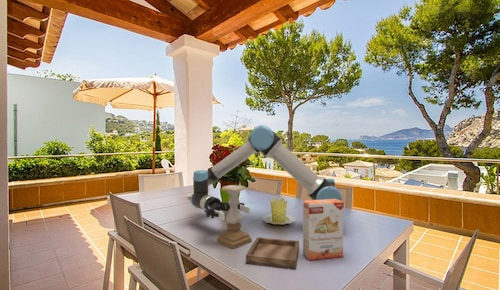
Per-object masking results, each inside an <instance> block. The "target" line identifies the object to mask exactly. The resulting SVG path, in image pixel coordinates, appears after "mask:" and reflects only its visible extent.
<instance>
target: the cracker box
mask: <svg viewBox="0 0 500 290" xmlns="http://www.w3.org/2000/svg"><path fill="white" fill-rule="evenodd" d="M302 210H303V211H302V254H303V256H304V257H305V258H306V259H307V260H308V261H315V260H324V259H334V258H336V259H337V258H342V257H344V215H345V214H344V212H345V211H344V210H345V209H344V201H340V200H337V199H325V200H312V199H310V200H309V199H308V200H303V201H302Z"/></svg>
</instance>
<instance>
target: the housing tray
mask: <svg viewBox="0 0 500 290" xmlns="http://www.w3.org/2000/svg"><path fill="white" fill-rule="evenodd" d="M299 251H300V241H299V240H291V239H282V238H281V239H280V238H268V237H259V236H258V237H256V238H255V240H254V241H253V243H252V245H251V246H250V248H249V250H248V251H247V253H246V254H245V264H247V265H255V266H262V265H263V266H264V267H271V266H272V267H274V268H279V267H280V268H282V269H288V268H290V269H289V270H296V267H297V262H298V257H299ZM280 268H279V269H280Z"/></svg>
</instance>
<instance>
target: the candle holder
mask: <svg viewBox="0 0 500 290" xmlns="http://www.w3.org/2000/svg"><path fill="white" fill-rule="evenodd" d="M221 190H222V191H223V192H224V191H225V192H227V194H228V196H229V199H228V200H227V201H228V203H229V205H230V209H229V210H227V211H228V212H226V214H225V221H226V222H227V224H226V228H227V230H226V231H224V232H222V233H220V234H219V235H218V237H216V242H217V243H218V244H220V245H223V246H225V247H227V248H229V249H232V250H235V249H237V248H240V247H242V246H245V245H247V244H249V243H252V241H253V240H252V237H251V236H250V234H249V233H247V232H245V231H243V230H242V225H241V222H242V220H243V214H242V213H241V211H240V210H239V209H238V204H239V203H241V202H240V201H241V200H239V194H240V193H241V192H242V191H244V190H246V186H245V185H240V184H229V185H224V186H222V187H221Z"/></svg>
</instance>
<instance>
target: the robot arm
mask: <svg viewBox="0 0 500 290" xmlns="http://www.w3.org/2000/svg"><path fill="white" fill-rule="evenodd" d="M282 141H283V139H282V138H281V137H280V136H279V135H277V134H276V133H275V132H274V131H273V130H272V129H271V128H270V127H269V126H267V125H264V124H263V125H261V124H260V125H257V126H256V127H254V128H253V129H252V130H251V131H250V134H249V138H247V141H246V142H245V143H244V144H242V145H241V146H239V147H237V148H236V149H235V150H234V151H232V152H231V153H230V154H229V155H227V156H225V158H223V159H222V160H220V161H219V162H217V163H216V164H215V165H214V166H212V167H211V168H209V169H207V170H205V169H200V170H199V169H198V170H195V171H193V177H192V179H193V180H192V181H193V193H192V194H191V197H190V200H189V201H190V203H191V205H192V206H193V207H195V208H198V209H199V210H203V212H204V213H205V215H206V218H211V219H214V218H217V219H220V220H222V221H226V213H225V212H227V211H229V209H230V205H229V203H228V201H229V200H227V201H226V202H223V201H221V199H220V198H218V197H215V196H213V195H212V196H211V195H210V194H209V186H211V185H213V184H214V183H215V182H216V181H218V180H220V178H222V177H223V176H225V175H226V174H227V173H229V172H230V171H232V170H233V169H235V168H236V167H238V166H239V165H241V163H243V162H244V161H246V160H247V159H249V158H250V157H251V156H253V155H255V154H259V153H261V154H262V155H264V156H265V157H270V158H271V159H272V160H273V161H274V162H276V164H278V165H279V166H280V167H281V168H282V169H283V170H284V171H285V172H287V173H288V174H289V175H290V176H291V177H292V178H293V179H294V180H295V181H296V182H298V183H299V185H301V186H302V187H303V188H304V189H305V190H306V195H307V196H308V197H309V198H310V199H311V200H325V199H337V200H340V201H342V200H343V197H342V193H341V191H340V190H339V189H338V188H337V187H336V182H335V179H333V178H325V177H324V176H318V174H316V173H315V172H314V171H313V170H312V169H311V168H309V166H308V165H306V164H305V163H304V162H303V161H302V160H301V159H300V158H299V157H297V155H295V154H294V152H292V151H291V150H290V149H288V148H287V147H286V145H284V143H282ZM342 202H343V201H342ZM238 209H239V211H240V212H243V213H245V214H251V207H250V206H247V205H245V203H243V202H240V203H239V204H238ZM223 211H225V212H223Z"/></svg>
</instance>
